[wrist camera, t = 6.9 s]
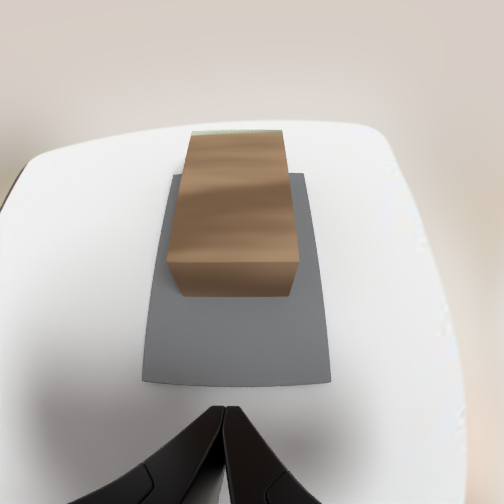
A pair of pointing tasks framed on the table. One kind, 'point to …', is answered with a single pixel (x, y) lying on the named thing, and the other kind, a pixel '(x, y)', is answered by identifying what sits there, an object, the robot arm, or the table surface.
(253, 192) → the walnut block
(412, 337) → the table surface
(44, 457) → the table surface
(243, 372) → the felt mat
